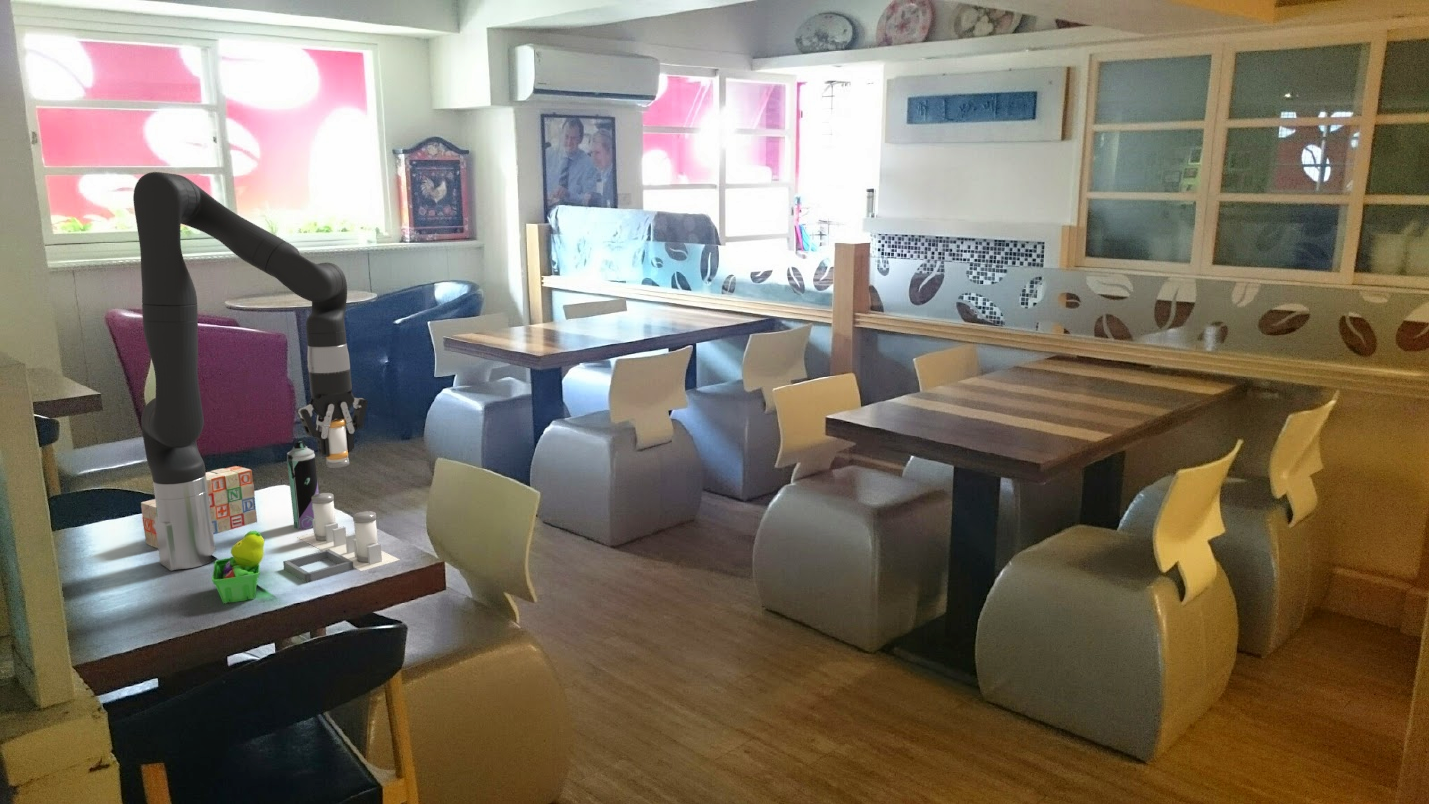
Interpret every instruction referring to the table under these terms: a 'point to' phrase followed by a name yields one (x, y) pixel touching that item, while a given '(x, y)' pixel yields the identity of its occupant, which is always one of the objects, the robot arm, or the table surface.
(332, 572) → the tray
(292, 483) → the spray can
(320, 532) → the fuse left
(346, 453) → the fuse marked
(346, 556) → the fuse strip
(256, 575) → the fruit basket
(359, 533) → the fuse right
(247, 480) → the stack of blocks
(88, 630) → the table surface
